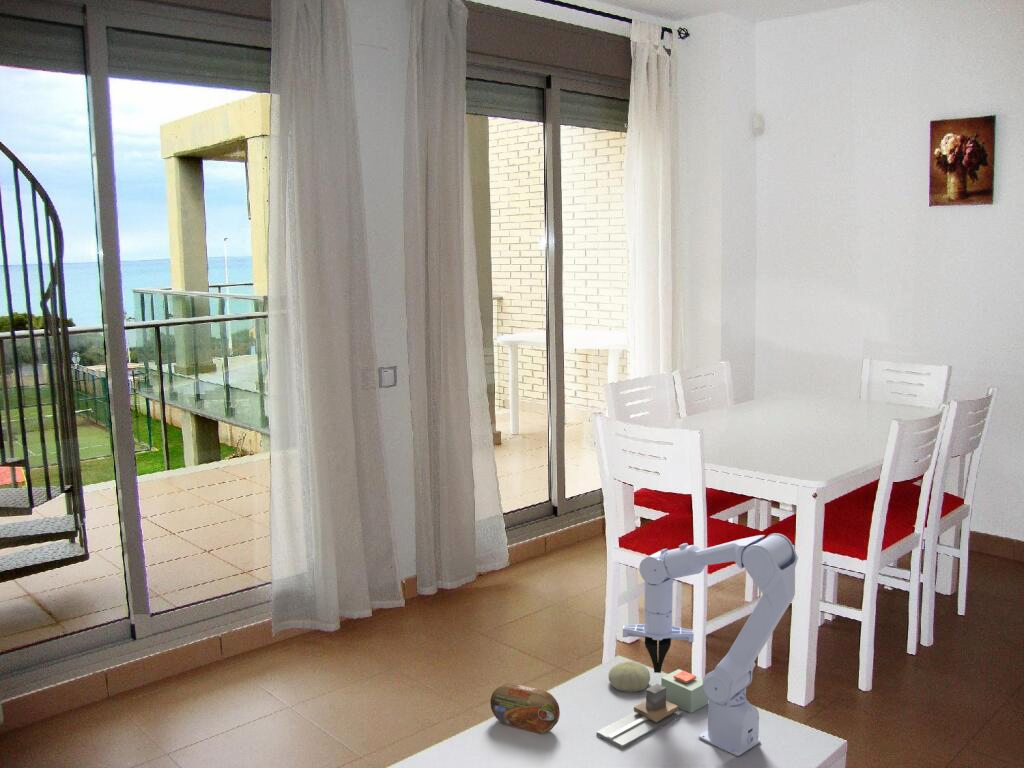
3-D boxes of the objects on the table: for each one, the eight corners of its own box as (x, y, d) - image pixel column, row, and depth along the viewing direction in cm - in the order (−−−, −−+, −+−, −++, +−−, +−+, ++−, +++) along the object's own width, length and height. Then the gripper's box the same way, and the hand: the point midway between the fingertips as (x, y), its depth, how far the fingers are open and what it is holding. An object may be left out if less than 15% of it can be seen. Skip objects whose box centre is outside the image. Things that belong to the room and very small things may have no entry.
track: (683, 715, 191) (683, 710, 191) (622, 749, 178) (622, 743, 178) (657, 703, 196) (657, 698, 196) (596, 735, 184) (596, 729, 183)
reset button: (696, 685, 196) (696, 675, 196) (686, 690, 194) (686, 681, 194) (683, 680, 199) (683, 670, 198) (673, 685, 196) (673, 675, 196)
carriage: (677, 710, 190) (678, 688, 190) (656, 722, 186) (656, 699, 185) (655, 700, 195) (655, 678, 194) (633, 711, 190) (634, 688, 189)
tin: (489, 721, 190) (489, 683, 188) (497, 714, 193) (496, 677, 191) (555, 738, 183) (555, 699, 182) (561, 731, 186) (561, 692, 184)
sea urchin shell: (598, 671, 207) (621, 644, 208) (621, 690, 210) (643, 664, 210) (615, 690, 198) (638, 661, 199) (638, 709, 201) (661, 681, 202)
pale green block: (708, 703, 196) (708, 681, 195) (690, 713, 192) (691, 690, 191) (678, 690, 202) (678, 668, 201) (661, 699, 198) (661, 677, 197)
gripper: (621, 614, 186) (621, 676, 188) (693, 619, 183) (692, 682, 186) (624, 601, 193) (624, 661, 195) (694, 605, 190) (692, 666, 192)
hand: (657, 670), depth 191 cm, fingers closed
